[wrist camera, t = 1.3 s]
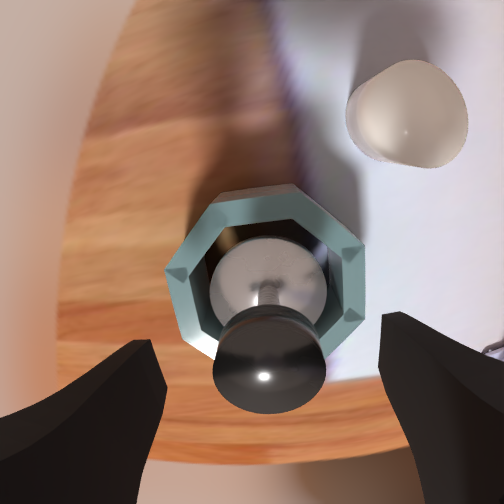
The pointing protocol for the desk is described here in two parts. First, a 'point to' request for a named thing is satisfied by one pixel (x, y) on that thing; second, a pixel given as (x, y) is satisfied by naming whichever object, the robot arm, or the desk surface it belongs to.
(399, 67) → the cream rounded block
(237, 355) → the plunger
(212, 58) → the desk surface
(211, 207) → the grey-green octagonal bowl
